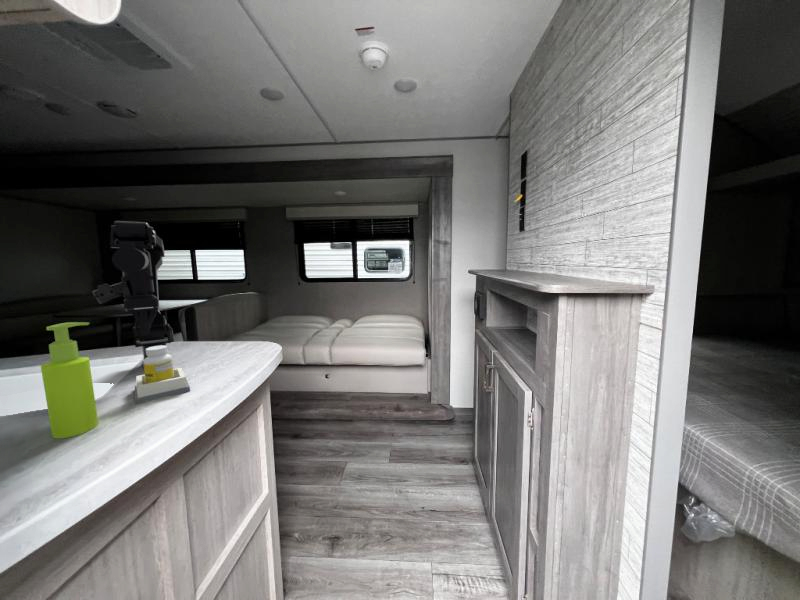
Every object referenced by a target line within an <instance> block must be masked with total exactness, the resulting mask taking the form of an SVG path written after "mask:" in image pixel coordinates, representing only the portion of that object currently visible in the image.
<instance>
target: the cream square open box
mask: <svg viewBox="0 0 800 600" xmlns="http://www.w3.org/2000/svg"><path fill="white" fill-rule="evenodd" d="M173 371H174V378H172V379H167V380H162V381H158V382H153V383H148V384H146V379H145V373H144V374H141V375H136V378H135V379H136V385H135V386H134V402H135V403H134V404H139V403H144V402H148V401H153V400H157V399H161V398H166V397H170V396H173V395H179V394H182V392H183V393H186V391H187V392H190V391H191V387H190V385H189V382H188V380H187V376H186V374H185V372H184V369H183V368H182V367H178V368H177V367H176V368H173Z"/></svg>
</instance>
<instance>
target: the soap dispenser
mask: <svg viewBox="0 0 800 600" xmlns="http://www.w3.org/2000/svg"><path fill="white" fill-rule="evenodd" d="M89 325H90V322H86V321H85V322H84V321H82V322H81V321H80V322H79V321H73V322H72V321H69V322H68V321H67V322H62V323H56V324H53V325H50V326H49V325H48V326H46V331H53V333H54V334H53V335H54V340H55V341H53V342H52V343H50V344H48V350H49V355H50V361H49V362H46V363H44V364H41V365H40V371H41V376H42V382H43V387H44V393H45V401H46V406H47V413H48V418H49V424H50V431H51V437H52V438H53V439H66V438H71V437H75V436H79V435H82V434H85V433H87V432H89V431H92V430H93V429H95V428H96V427H97V426H98V425H99V420H98V413H97V406H96V405H97V404H96V397H95V391H94V384H93V377H92V376H93V375H92V369H91V364H90V362H91V361H90V358H89V357H87V356H80V355H79V354H80V353H79V347H78V341H76V340H73V339H70V334H69V329H68V328H72V327H76V326H78V327H79V326H89Z"/></svg>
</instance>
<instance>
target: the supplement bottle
mask: <svg viewBox="0 0 800 600" xmlns="http://www.w3.org/2000/svg"><path fill="white" fill-rule="evenodd" d="M146 355H147V356H148V357H147V358H145V359H144V358H143V360H142V365H143V364H144V367H143V369H144V374H145V379H146V384H148V383H153V382H158V381H162V380H167V379H172V378H174V371H173V369H174V362H173V357H172V355H171V354H169V353H168V346H167V345H166V346H165V345H160V346H153V347H149V348H147V349H146Z"/></svg>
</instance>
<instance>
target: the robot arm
mask: <svg viewBox="0 0 800 600" xmlns="http://www.w3.org/2000/svg"><path fill="white" fill-rule="evenodd" d="M109 237H110V238H109V246H110V248H111V249H117V250H115V251H114V253H113V254H112V257H111V262H112V264H113V266H114V267H115V268H116V269H117V270H119V271H121V272H122V277H121V279H120V280H121V282H119V283H114V284H112V285H109V284H108V283H103V284H100V285H97V289H95V290H92V294H93V296H94V298H95V299H96V300H97V302H98V303H99V304H105V303H106V302H108V301H111V300H113V299H116V298H119V297H123V298H124V299H123V307H124V310H125V312H128V313H129V314H131V315H133V316H134V318H135V320H134V326H133V327H132V336H133V337H132V338H133V342H134V346H135V348H139V347H140V348H141V347H142V354H143V355H142V356H143V360H144V359H145V358H147V357H148V356H147V355H146V349H147V348H149V347H153V346H160V345H165V346H167V344H171V343H173V342H175V339H174V331H173V328H172V327H171V326H170V324H169V323H167V320H166V317H165V315H163V314H162V313H161V310H160V299H159V298H160V297H159V281H158V270H159V269H160V267H161V266H163V258H165V247H164V242H163V239H162V238H161V237H160V236H159V235H157V233H156V230H154V227H153V226H150V224H149V223H148V222H145V221H126V220H115V221H114V222H113V225H112V224H111V226H110V236H109ZM142 368H144V364H143V363H142Z"/></svg>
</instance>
